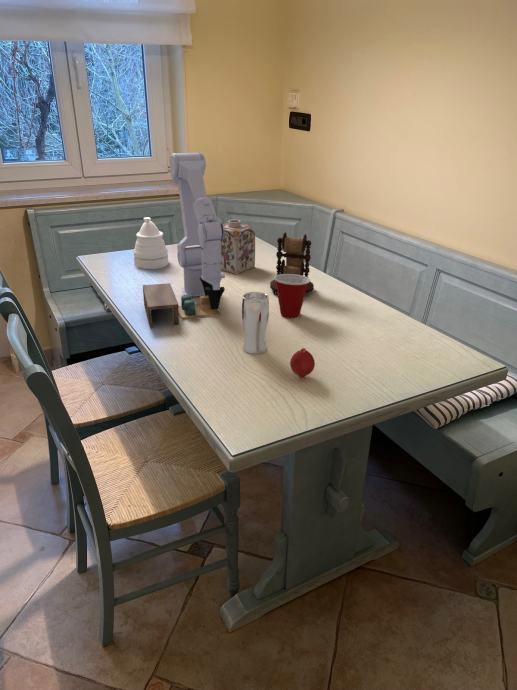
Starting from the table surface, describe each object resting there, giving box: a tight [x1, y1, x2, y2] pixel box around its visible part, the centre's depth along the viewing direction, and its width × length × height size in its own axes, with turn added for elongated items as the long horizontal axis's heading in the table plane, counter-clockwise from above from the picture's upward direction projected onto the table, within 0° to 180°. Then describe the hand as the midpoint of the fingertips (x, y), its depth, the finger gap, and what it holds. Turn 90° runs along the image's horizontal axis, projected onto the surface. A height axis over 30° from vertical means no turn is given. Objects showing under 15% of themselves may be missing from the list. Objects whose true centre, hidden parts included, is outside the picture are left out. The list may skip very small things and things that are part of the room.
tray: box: [178, 294, 222, 320], centre depth 161 cm, size 12×9×5 cm
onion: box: [289, 347, 316, 379], centre depth 125 cm, size 6×6×8 cm
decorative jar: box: [220, 219, 256, 275], centre depth 197 cm, size 12×12×18 cm
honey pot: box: [133, 216, 169, 270], centre depth 199 cm, size 13×13×18 cm
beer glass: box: [241, 291, 270, 355], centre depth 136 cm, size 7×7×15 cm
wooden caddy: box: [142, 282, 180, 329], centre depth 157 cm, size 8×18×6 cm, turn 16°
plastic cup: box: [273, 274, 311, 319], centre depth 158 cm, size 11×11×12 cm
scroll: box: [269, 231, 315, 296], centre depth 175 cm, size 15×15×20 cm
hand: (212, 304), depth 162 cm, fingers open, 7 cm apart
